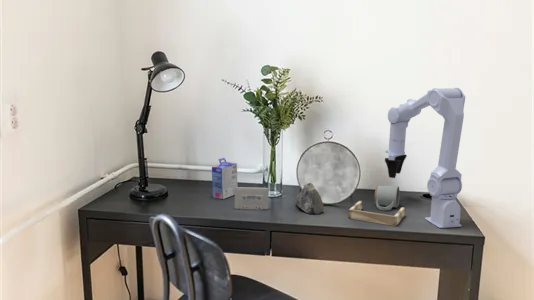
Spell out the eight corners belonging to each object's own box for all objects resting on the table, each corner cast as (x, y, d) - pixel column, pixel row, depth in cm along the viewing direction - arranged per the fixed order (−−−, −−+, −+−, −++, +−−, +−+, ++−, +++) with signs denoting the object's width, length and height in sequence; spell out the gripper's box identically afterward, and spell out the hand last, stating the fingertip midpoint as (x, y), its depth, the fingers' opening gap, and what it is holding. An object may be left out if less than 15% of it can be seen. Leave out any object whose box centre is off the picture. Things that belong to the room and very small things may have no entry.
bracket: (359, 208, 178) (359, 200, 178) (404, 215, 171) (404, 207, 171) (348, 218, 168) (348, 209, 167) (396, 226, 161) (396, 217, 160)
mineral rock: (296, 202, 185) (296, 176, 183) (325, 204, 183) (326, 178, 181) (291, 213, 172) (292, 185, 170) (323, 215, 171) (324, 187, 169)
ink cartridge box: (227, 191, 199) (226, 155, 196) (238, 193, 196) (238, 157, 193) (211, 197, 190) (211, 160, 188) (222, 199, 187) (222, 162, 185)
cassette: (268, 208, 178) (268, 187, 177) (268, 209, 176) (268, 188, 175) (234, 207, 178) (234, 186, 177) (234, 209, 176) (234, 188, 175)
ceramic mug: (377, 201, 188) (378, 181, 186) (399, 204, 185) (400, 184, 183) (371, 209, 178) (372, 189, 177) (395, 212, 175) (396, 191, 173)
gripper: (391, 135, 193) (389, 169, 196) (381, 141, 180) (378, 178, 183) (409, 137, 190) (407, 172, 193) (400, 143, 177) (398, 180, 180)
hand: (394, 175), depth 188 cm, fingers open, 7 cm apart
